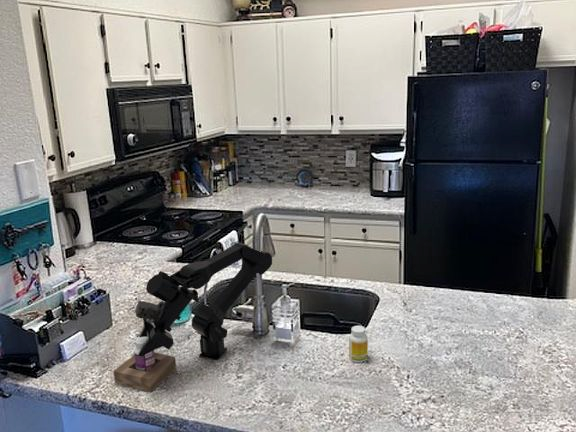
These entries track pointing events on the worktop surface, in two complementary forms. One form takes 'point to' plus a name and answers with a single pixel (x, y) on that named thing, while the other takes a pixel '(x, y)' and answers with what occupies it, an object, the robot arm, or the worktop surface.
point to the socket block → (145, 373)
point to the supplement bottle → (358, 344)
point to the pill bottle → (146, 360)
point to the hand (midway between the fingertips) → (138, 350)
